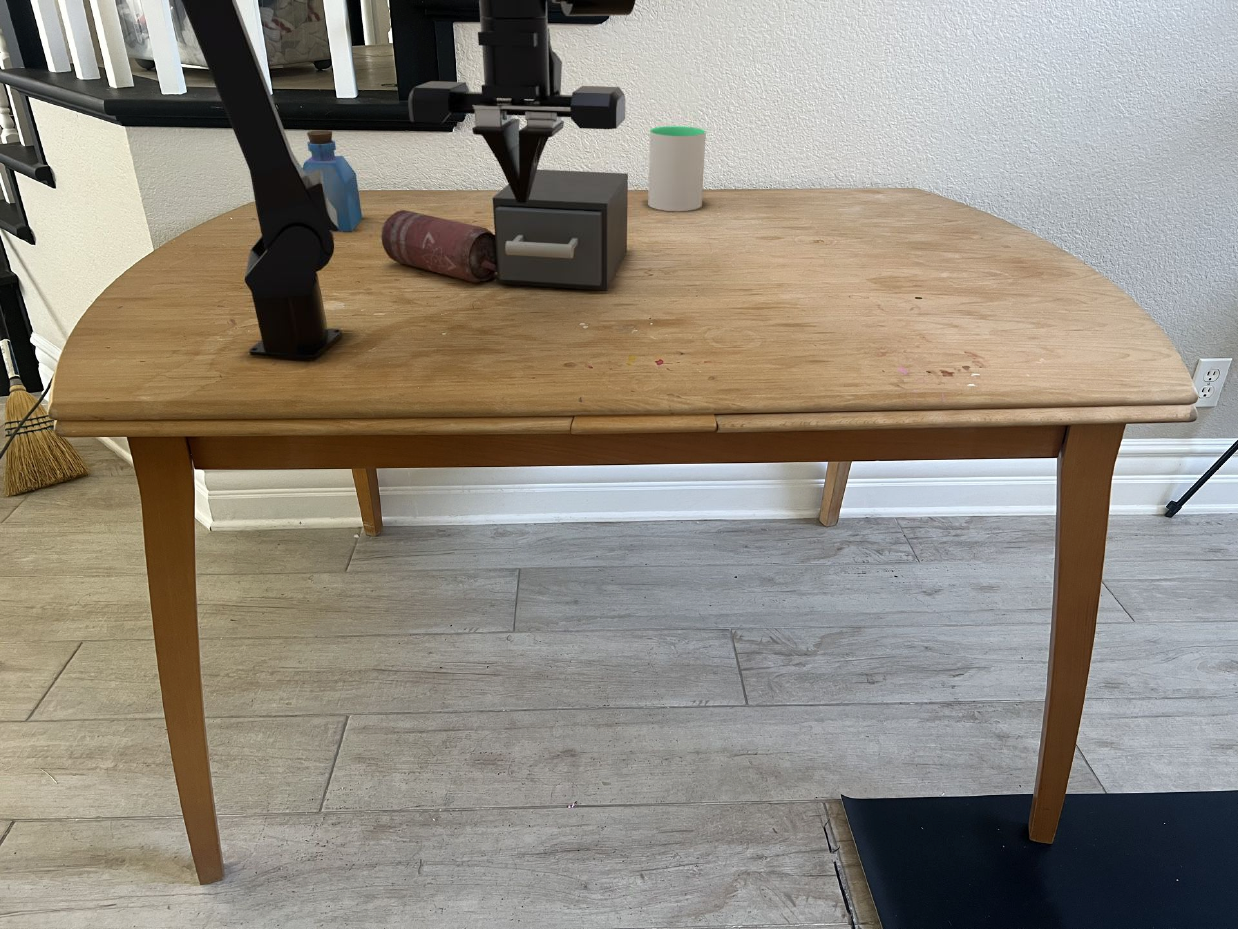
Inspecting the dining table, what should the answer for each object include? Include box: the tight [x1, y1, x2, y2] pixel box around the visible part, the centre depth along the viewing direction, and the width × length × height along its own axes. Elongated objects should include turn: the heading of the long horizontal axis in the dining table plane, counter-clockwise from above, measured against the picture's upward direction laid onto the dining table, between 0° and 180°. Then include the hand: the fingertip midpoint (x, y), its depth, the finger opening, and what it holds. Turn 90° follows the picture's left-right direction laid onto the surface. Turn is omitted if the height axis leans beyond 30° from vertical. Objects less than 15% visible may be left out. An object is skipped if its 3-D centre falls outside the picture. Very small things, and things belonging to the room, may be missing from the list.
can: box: [380, 209, 497, 283], centre depth 99 cm, size 6×6×14 cm
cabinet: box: [492, 168, 629, 291], centre depth 100 cm, size 15×13×10 cm
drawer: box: [495, 206, 602, 286], centre depth 97 cm, size 18×11×8 cm, turn 171°
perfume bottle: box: [301, 129, 363, 232], centre depth 114 cm, size 6×6×12 cm
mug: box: [647, 125, 707, 212], centre depth 127 cm, size 12×8×10 cm, turn 14°
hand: (522, 202), depth 81 cm, fingers closed
